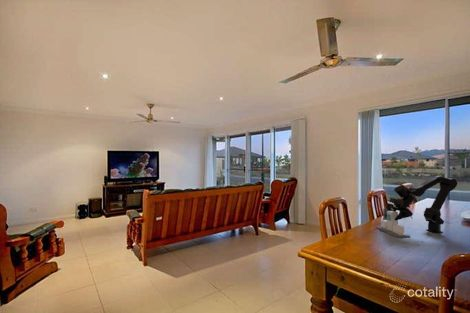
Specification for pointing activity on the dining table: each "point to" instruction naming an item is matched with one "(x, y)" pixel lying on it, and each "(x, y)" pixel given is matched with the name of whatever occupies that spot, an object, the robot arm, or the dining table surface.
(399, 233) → the mounting plate
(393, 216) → the block
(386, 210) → the small box
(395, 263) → the dining table surface
